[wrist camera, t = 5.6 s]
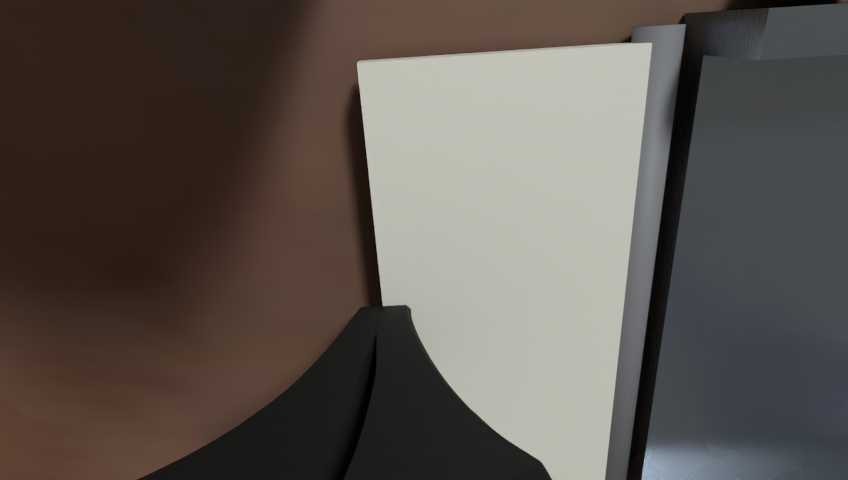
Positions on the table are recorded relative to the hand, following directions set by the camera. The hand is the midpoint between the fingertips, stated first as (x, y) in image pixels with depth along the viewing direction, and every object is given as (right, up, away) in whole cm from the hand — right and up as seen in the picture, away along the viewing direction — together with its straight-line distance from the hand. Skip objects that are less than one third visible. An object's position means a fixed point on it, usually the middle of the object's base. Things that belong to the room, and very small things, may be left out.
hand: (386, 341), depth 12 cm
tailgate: (+6, +1, +1) cm, 6 cm away
